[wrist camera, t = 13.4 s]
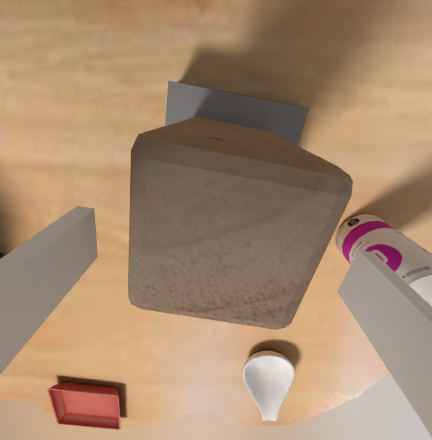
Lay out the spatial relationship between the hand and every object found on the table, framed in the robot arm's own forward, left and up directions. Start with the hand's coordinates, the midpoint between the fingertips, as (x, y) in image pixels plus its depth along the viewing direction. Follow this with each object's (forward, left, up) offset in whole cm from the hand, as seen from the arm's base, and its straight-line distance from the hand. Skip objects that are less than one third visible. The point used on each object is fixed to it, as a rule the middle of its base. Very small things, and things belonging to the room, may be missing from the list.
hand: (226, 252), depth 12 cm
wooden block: (0, 0, -20) cm, 20 cm away
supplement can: (+25, -9, -26) cm, 37 cm away
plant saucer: (-25, -73, -26) cm, 81 cm away
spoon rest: (+20, -51, -26) cm, 61 cm away
